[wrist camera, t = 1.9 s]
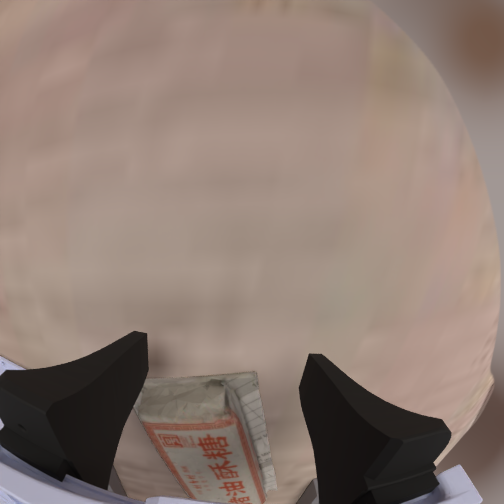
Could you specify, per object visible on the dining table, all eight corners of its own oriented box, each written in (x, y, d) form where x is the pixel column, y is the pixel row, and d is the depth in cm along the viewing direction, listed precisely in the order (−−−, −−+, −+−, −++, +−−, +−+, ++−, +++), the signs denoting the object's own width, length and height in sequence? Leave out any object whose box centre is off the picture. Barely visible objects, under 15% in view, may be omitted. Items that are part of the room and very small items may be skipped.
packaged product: (104, 413, 14) (260, 411, 14) (126, 373, 18) (256, 364, 18) (185, 518, 17) (281, 516, 18) (189, 486, 22) (277, 482, 22)
